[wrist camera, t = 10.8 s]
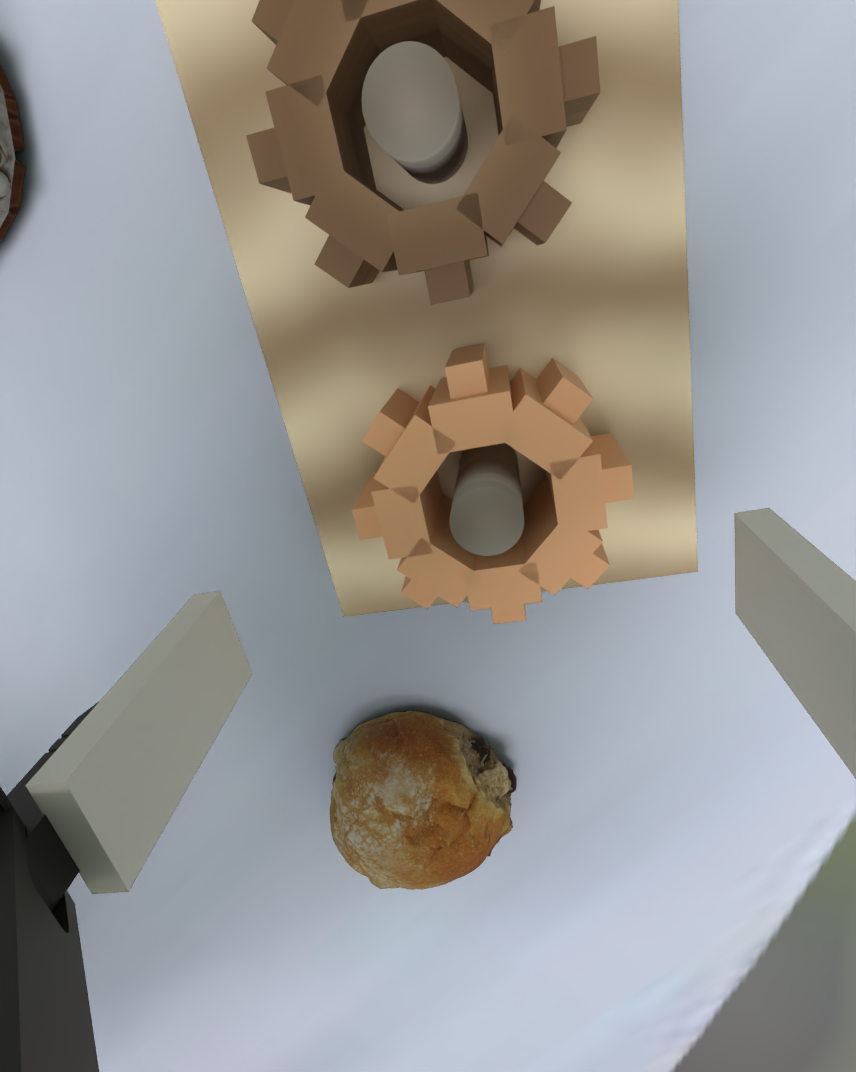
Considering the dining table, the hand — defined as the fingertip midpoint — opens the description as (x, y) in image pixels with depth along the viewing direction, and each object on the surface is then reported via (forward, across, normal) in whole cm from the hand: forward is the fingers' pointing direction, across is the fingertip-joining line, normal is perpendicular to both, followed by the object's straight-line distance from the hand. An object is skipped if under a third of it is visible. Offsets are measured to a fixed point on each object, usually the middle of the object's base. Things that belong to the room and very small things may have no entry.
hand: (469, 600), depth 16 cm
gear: (+10, -1, 0) cm, 11 cm away
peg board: (+12, -1, -6) cm, 14 cm away
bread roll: (+13, +6, +18) cm, 23 cm away
